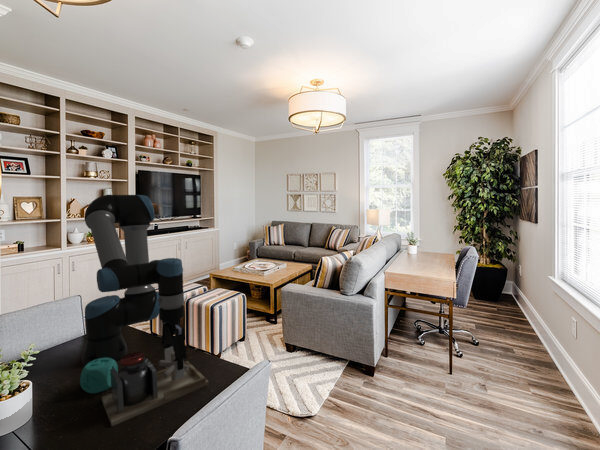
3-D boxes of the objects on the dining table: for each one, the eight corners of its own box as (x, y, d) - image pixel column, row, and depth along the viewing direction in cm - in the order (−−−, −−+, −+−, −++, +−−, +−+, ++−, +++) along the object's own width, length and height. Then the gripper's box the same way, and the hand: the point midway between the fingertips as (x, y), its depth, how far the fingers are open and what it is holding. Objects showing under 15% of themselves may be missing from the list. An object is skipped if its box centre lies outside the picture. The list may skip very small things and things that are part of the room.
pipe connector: (179, 392, 96) (179, 364, 94) (151, 386, 98) (150, 358, 96) (195, 371, 106) (195, 345, 104) (169, 366, 107) (168, 341, 105)
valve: (112, 400, 93) (109, 357, 92) (148, 386, 100) (146, 346, 99) (119, 417, 86) (116, 370, 85) (158, 401, 93) (155, 357, 92)
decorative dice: (107, 392, 98) (106, 368, 97) (80, 395, 96) (78, 370, 96) (118, 378, 106) (117, 356, 105) (93, 380, 104) (92, 358, 104)
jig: (101, 400, 94) (101, 391, 93) (190, 366, 112) (190, 359, 112) (111, 426, 82) (111, 417, 82) (208, 384, 101) (208, 376, 101)
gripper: (149, 300, 105) (152, 363, 106) (171, 317, 89) (174, 391, 90) (171, 296, 110) (174, 356, 111) (196, 311, 94) (198, 381, 95)
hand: (174, 372), depth 101 cm, fingers closed on pipe connector, 9 cm apart
